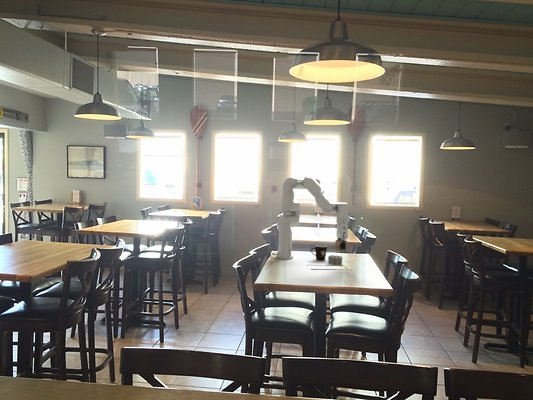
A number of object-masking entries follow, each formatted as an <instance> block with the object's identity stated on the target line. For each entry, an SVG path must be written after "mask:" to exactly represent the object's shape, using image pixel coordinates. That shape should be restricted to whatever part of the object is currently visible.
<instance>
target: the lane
mask: <svg viewBox="0 0 533 400" xmlns="http://www.w3.org/2000/svg"><path fill="white" fill-rule="evenodd" d="M327 266H332V267H333V266H335V267H336V266H338V267H340V266H343V267H344V268H310V270H313V271H315V270H317V271H318V270H319V271H321V270H322V271H323V270H325V271H326V270H327V271H340V270H341V271H352V269H351V268H350V267H348V266H347V265H345V264H341V265H333V264H327Z"/></svg>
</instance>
